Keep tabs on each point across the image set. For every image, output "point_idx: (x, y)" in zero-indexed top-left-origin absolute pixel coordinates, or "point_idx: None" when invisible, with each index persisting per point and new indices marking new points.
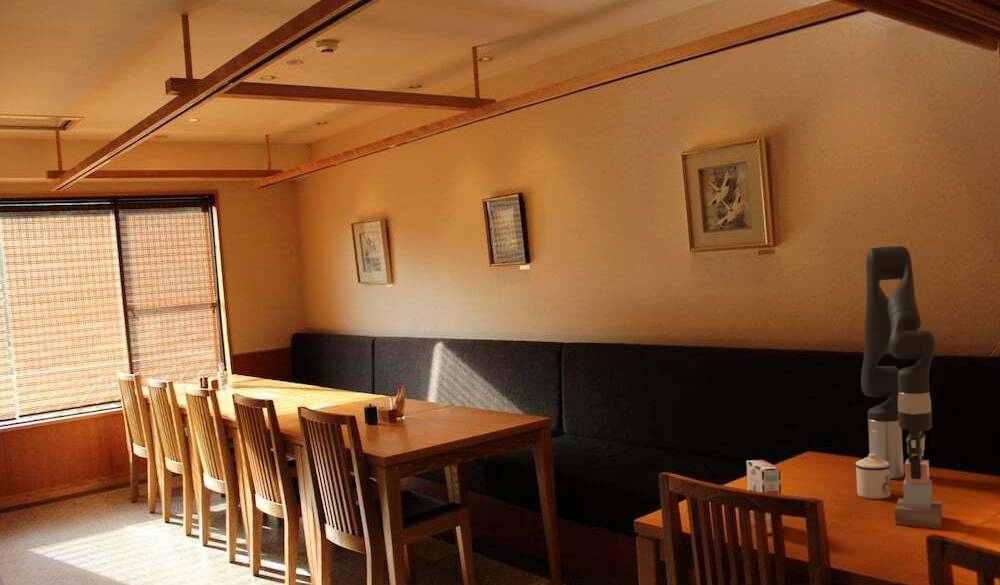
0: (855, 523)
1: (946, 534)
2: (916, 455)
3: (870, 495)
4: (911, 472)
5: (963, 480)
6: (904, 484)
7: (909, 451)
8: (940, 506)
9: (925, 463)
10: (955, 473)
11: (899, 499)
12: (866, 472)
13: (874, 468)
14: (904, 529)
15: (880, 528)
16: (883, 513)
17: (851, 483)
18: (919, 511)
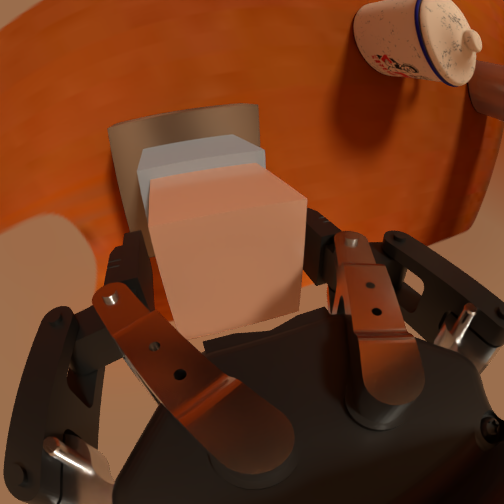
0: (82, 27)
1: (103, 260)
2: (332, 264)
3: (357, 25)
4: (122, 251)
5: (464, 200)
6: (138, 176)
7: (22, 397)
8: None
9: (210, 327)
10: (484, 186)
11: (240, 109)
12: (407, 11)
13: (421, 33)
14: (83, 161)
15: (61, 103)
16: (223, 61)
17: None
18: (123, 205)
